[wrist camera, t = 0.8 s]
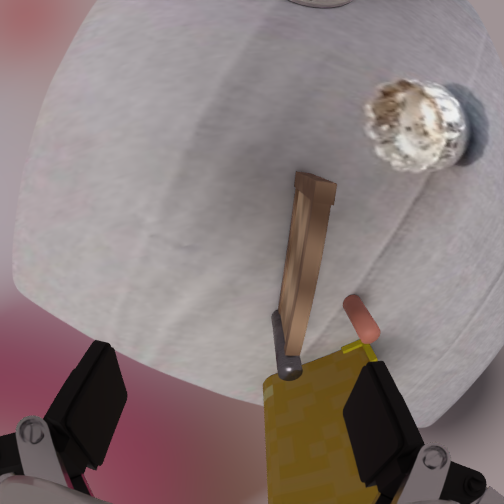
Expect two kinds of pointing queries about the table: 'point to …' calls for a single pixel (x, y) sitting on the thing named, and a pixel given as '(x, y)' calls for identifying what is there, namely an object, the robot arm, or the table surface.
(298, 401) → the book
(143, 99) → the table surface
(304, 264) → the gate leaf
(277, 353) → the gate post
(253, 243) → the table surface
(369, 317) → the post
